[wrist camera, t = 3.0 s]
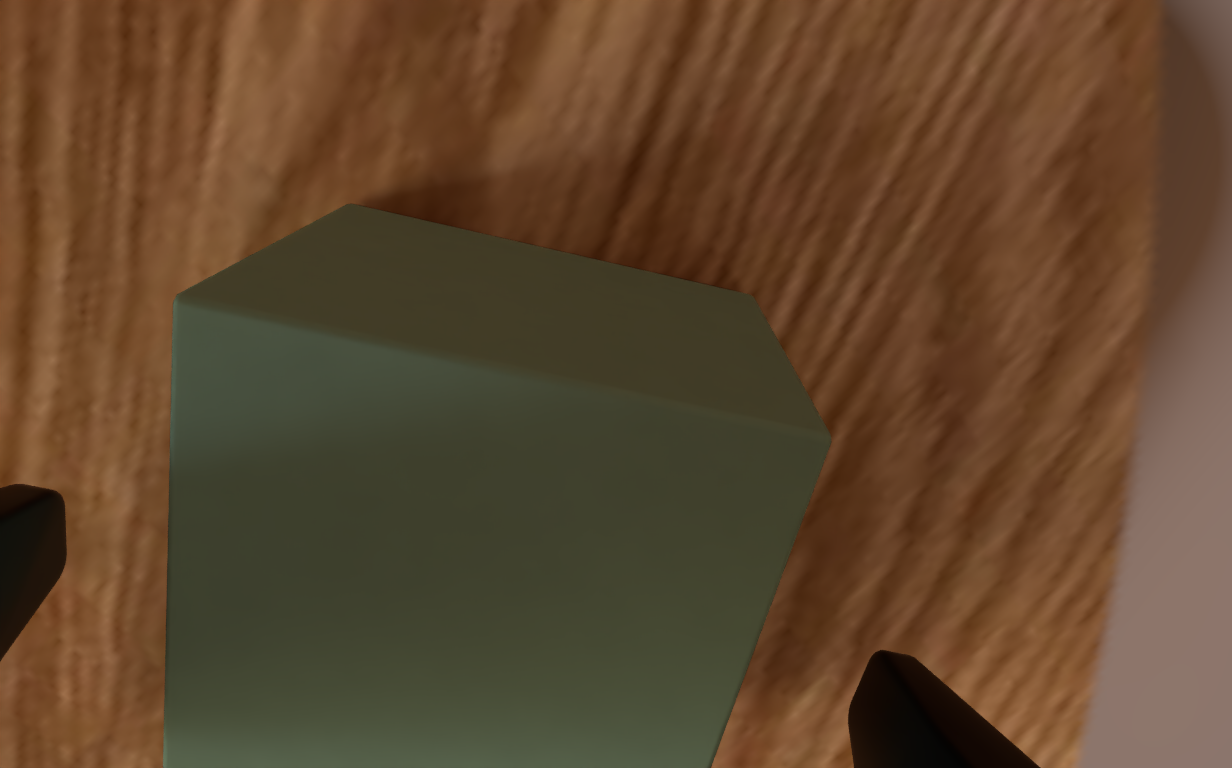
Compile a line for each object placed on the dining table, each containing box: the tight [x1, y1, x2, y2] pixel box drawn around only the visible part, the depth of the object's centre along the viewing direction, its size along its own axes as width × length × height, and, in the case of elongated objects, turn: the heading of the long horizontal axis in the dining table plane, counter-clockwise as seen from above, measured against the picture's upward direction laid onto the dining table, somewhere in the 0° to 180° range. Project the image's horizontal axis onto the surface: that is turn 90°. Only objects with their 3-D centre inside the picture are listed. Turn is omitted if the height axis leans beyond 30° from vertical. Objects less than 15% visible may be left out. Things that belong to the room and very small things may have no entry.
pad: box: [163, 204, 831, 768], centre depth 9 cm, size 5×7×4 cm
